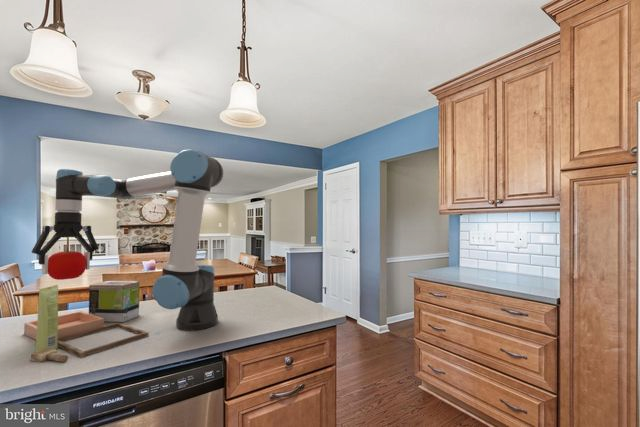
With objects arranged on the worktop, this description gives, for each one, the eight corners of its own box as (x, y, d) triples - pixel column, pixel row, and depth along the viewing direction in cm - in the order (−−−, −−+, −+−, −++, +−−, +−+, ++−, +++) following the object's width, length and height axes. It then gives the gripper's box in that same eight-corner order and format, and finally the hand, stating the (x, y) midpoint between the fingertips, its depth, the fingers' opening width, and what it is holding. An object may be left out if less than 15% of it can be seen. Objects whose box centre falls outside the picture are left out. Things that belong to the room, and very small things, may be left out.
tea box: (139, 315, 130) (140, 280, 130) (122, 323, 120) (123, 285, 120) (107, 314, 131) (108, 279, 132) (87, 321, 121) (88, 284, 122)
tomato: (85, 275, 119) (86, 248, 119) (86, 280, 110) (87, 250, 110) (46, 278, 112) (48, 249, 112) (44, 283, 103) (45, 252, 103)
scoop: (72, 358, 88) (72, 352, 88) (57, 364, 84) (57, 358, 84) (46, 354, 91) (46, 348, 91) (30, 360, 87) (30, 353, 87)
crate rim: (148, 335, 106) (148, 332, 106) (80, 357, 89) (80, 353, 89) (118, 325, 116) (118, 322, 116) (52, 343, 99) (52, 339, 99)
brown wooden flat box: (103, 328, 113) (103, 318, 113) (44, 344, 98) (45, 332, 98) (80, 320, 122) (81, 311, 122) (24, 333, 107) (24, 323, 108)
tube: (34, 350, 94) (36, 286, 94) (55, 345, 98) (57, 284, 98) (37, 355, 90) (39, 289, 91) (59, 350, 94) (61, 286, 95)
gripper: (100, 213, 124) (98, 266, 123) (20, 210, 103) (18, 275, 102) (109, 212, 120) (108, 268, 119) (28, 210, 99) (26, 277, 99)
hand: (66, 271), depth 111 cm, fingers closed on tomato, 12 cm apart
